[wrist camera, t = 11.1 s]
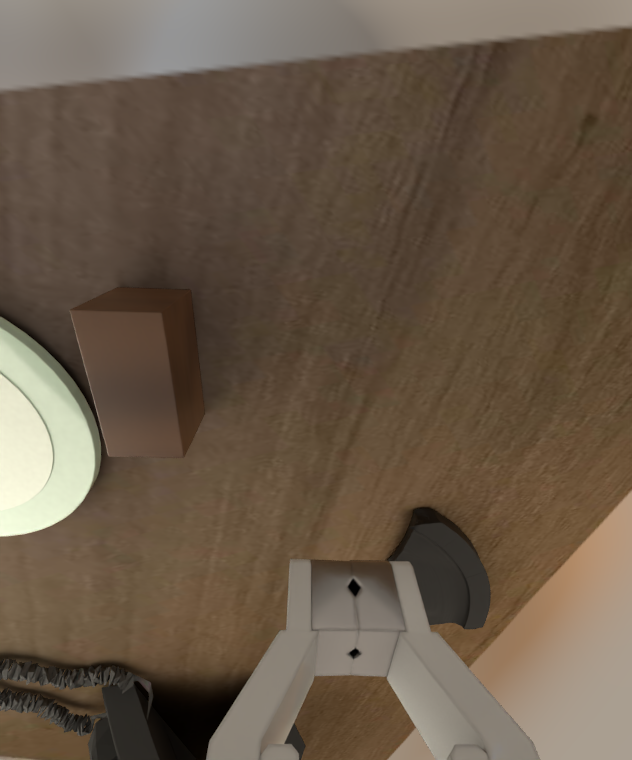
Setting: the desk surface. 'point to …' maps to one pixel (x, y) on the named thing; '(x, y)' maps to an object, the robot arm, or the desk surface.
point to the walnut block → (142, 369)
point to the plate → (41, 437)
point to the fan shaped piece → (445, 570)
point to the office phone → (123, 708)
